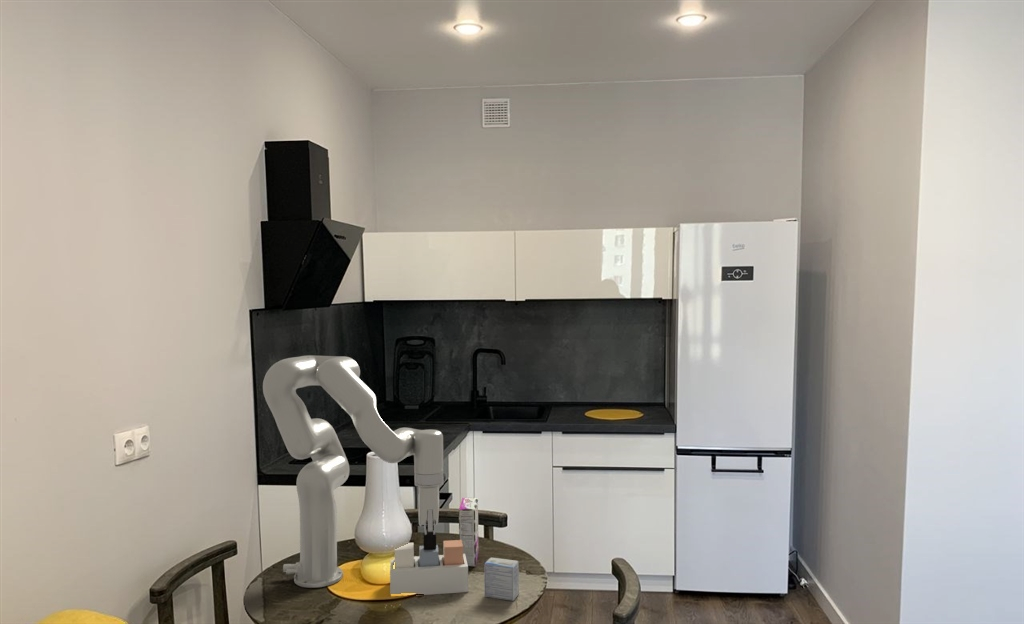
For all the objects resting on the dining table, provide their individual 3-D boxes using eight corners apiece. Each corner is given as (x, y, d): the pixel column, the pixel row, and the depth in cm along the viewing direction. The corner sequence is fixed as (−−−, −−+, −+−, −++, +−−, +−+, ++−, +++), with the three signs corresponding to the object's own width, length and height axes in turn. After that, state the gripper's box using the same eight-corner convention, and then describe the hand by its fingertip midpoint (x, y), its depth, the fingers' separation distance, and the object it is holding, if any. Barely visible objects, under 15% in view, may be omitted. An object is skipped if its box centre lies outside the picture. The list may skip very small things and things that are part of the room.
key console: (390, 597, 166) (390, 571, 166) (391, 582, 175) (390, 557, 175) (468, 591, 169) (468, 566, 169) (465, 577, 178) (464, 553, 178)
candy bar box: (462, 552, 196) (462, 497, 196) (478, 552, 196) (478, 497, 196) (458, 567, 185) (458, 508, 185) (476, 567, 185) (476, 508, 185)
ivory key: (394, 574, 168) (394, 550, 168) (395, 567, 173) (395, 543, 173) (413, 573, 169) (413, 549, 169) (413, 566, 174) (413, 542, 174)
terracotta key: (444, 571, 170) (444, 547, 170) (443, 564, 175) (443, 540, 175) (463, 570, 171) (463, 546, 171) (461, 563, 176) (461, 539, 176)
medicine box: (519, 594, 168) (519, 560, 168) (513, 601, 164) (513, 567, 164) (490, 590, 170) (490, 556, 170) (483, 597, 166) (483, 563, 166)
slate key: (419, 576, 169) (419, 552, 169) (419, 569, 174) (419, 545, 174) (438, 575, 170) (438, 551, 170) (437, 568, 175) (437, 544, 175)
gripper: (414, 471, 179) (414, 539, 179) (414, 486, 164) (415, 560, 164) (442, 470, 180) (442, 537, 180) (445, 485, 165) (446, 558, 165)
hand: (429, 548), depth 172 cm, fingers closed
